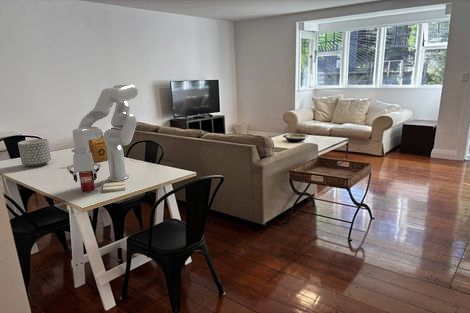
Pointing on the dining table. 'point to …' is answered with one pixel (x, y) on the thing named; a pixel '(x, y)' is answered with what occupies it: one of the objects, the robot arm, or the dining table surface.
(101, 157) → the coffee package
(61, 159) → the dining table surface
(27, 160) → the planter
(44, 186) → the dining table surface
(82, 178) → the soda can
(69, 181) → the dining table surface
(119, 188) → the birch board
